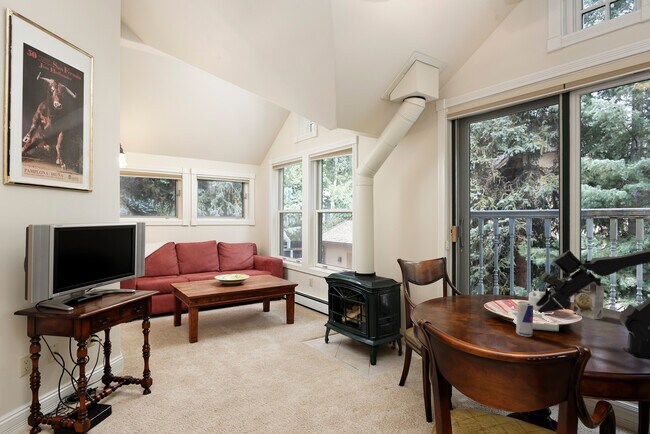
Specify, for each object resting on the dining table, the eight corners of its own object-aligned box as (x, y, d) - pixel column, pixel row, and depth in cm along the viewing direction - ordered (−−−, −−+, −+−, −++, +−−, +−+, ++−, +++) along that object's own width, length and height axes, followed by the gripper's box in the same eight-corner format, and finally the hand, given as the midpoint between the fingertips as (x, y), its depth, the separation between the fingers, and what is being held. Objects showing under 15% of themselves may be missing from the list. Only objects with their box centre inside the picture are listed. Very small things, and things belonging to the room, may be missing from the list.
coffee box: (572, 313, 156) (573, 279, 155) (581, 312, 158) (583, 278, 157) (594, 319, 147) (595, 283, 147) (603, 318, 149) (605, 282, 149)
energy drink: (534, 337, 125) (535, 306, 125) (519, 336, 126) (520, 305, 126) (529, 332, 131) (530, 302, 130) (514, 331, 132) (515, 301, 131)
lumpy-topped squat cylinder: (551, 308, 163) (552, 291, 162) (557, 316, 151) (557, 297, 151) (527, 305, 167) (527, 288, 167) (530, 313, 155) (531, 294, 155)
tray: (558, 331, 132) (558, 325, 132) (520, 328, 135) (520, 322, 135) (542, 319, 146) (543, 314, 146) (508, 316, 149) (508, 311, 149)
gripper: (553, 262, 131) (520, 286, 137) (560, 270, 115) (522, 296, 120) (577, 284, 128) (541, 308, 133) (588, 296, 111) (547, 322, 117)
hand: (537, 308), depth 126 cm, fingers open, 9 cm apart
